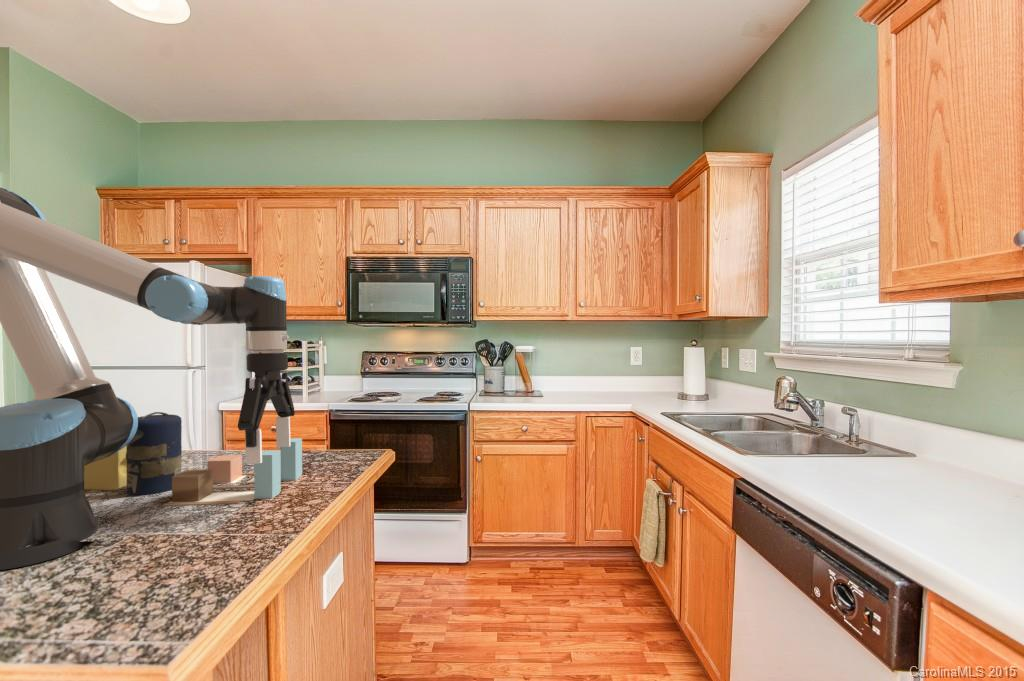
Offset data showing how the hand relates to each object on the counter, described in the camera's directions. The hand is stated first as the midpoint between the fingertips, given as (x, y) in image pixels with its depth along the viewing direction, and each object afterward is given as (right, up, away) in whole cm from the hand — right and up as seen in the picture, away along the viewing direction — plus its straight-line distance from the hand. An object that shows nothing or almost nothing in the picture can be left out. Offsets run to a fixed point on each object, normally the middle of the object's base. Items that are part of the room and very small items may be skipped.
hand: (269, 454), depth 95 cm
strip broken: (-9, -10, +11) cm, 17 cm away
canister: (-28, -10, +5) cm, 30 cm away
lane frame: (-12, -10, +5) cm, 16 cm away
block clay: (-16, -9, +11) cm, 21 cm away
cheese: (-42, -10, +13) cm, 45 cm away
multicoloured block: (-8, -10, -1) cm, 13 cm away
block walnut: (-15, -9, -1) cm, 17 cm away
